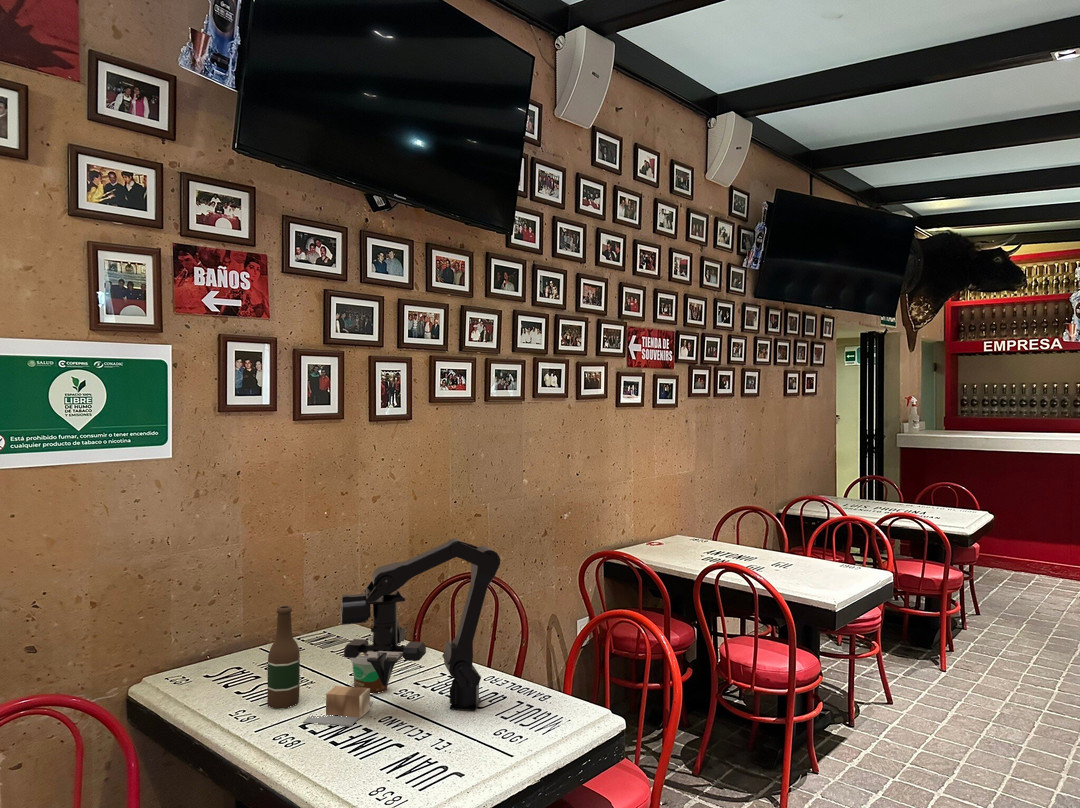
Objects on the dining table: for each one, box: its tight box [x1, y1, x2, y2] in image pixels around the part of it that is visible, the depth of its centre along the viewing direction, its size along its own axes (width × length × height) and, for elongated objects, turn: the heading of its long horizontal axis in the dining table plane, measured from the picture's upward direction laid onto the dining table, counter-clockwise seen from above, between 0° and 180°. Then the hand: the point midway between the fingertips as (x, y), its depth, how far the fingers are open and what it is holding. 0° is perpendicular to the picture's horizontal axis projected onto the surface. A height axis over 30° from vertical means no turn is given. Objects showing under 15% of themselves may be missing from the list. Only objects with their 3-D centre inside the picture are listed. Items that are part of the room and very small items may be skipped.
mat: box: [302, 700, 375, 728], centre depth 177 cm, size 12×14×1 cm
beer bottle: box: [266, 605, 301, 709], centre depth 182 cm, size 8×8×24 cm
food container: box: [349, 652, 389, 694], centre depth 191 cm, size 12×6×10 cm, turn 62°
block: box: [325, 685, 371, 718], centre depth 177 cm, size 5×5×9 cm
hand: (385, 685), depth 176 cm, fingers closed
